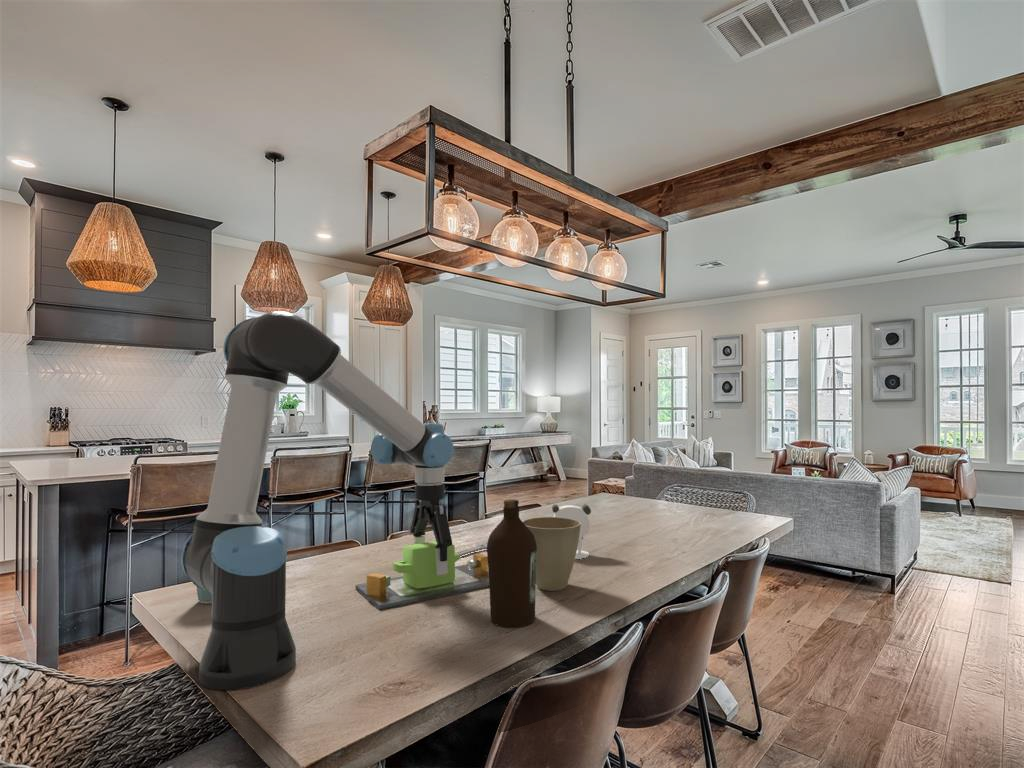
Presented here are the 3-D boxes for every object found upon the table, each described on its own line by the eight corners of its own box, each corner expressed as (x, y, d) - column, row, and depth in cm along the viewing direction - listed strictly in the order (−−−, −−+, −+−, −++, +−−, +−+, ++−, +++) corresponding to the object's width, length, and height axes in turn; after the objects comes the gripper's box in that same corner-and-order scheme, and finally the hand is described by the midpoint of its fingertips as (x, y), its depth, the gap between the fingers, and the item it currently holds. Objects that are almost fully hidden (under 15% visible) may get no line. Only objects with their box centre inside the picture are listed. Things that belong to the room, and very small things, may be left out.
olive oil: (486, 629, 112) (484, 504, 113) (489, 610, 122) (487, 496, 123) (538, 629, 111) (536, 504, 113) (537, 610, 122) (535, 496, 123)
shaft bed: (504, 583, 141) (504, 561, 142) (379, 609, 124) (379, 585, 124) (471, 567, 157) (471, 547, 157) (355, 588, 139) (355, 566, 139)
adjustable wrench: (441, 565, 161) (441, 559, 161) (428, 561, 166) (428, 555, 166) (503, 548, 179) (502, 543, 179) (489, 545, 183) (489, 540, 184)
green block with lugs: (451, 572, 149) (451, 536, 150) (470, 579, 141) (469, 541, 142) (388, 583, 139) (388, 545, 140) (405, 592, 131) (405, 551, 132)
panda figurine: (589, 550, 174) (588, 502, 175) (593, 559, 163) (592, 508, 163) (551, 550, 174) (550, 502, 175) (552, 560, 163) (551, 508, 164)
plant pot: (546, 600, 128) (545, 531, 129) (511, 584, 140) (510, 521, 141) (594, 588, 136) (593, 523, 137) (557, 574, 149) (556, 514, 149)
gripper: (465, 487, 133) (466, 577, 132) (423, 478, 154) (424, 555, 153) (437, 490, 129) (437, 582, 128) (398, 480, 150) (398, 559, 149)
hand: (430, 567), depth 140 cm, fingers open, 13 cm apart
